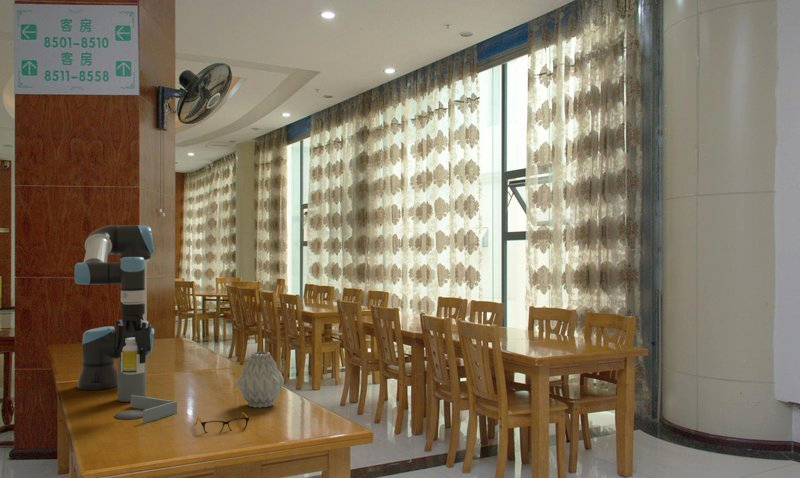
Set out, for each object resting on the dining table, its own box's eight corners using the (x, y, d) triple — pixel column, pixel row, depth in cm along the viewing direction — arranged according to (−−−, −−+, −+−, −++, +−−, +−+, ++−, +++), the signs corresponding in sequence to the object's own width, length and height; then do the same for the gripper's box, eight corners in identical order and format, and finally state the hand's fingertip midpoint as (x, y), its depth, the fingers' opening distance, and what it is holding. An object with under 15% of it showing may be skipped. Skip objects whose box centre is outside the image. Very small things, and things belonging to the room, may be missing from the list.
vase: (244, 413, 229) (244, 358, 229) (232, 402, 243) (232, 351, 243) (290, 407, 236) (290, 354, 236) (276, 398, 251) (276, 348, 251)
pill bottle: (135, 375, 222) (135, 340, 222) (118, 374, 224) (118, 339, 224) (147, 371, 229) (147, 337, 229) (129, 370, 230) (129, 336, 230)
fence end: (142, 422, 217) (142, 410, 217) (175, 412, 229) (175, 401, 229) (144, 423, 216) (144, 410, 216) (177, 413, 229) (177, 401, 229)
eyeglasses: (202, 435, 204) (202, 422, 204) (196, 423, 217) (196, 411, 217) (249, 430, 210) (249, 417, 210) (241, 419, 223) (241, 407, 223)
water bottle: (152, 397, 252) (152, 322, 252) (134, 403, 242) (134, 325, 242) (130, 395, 255) (130, 321, 255) (111, 401, 246) (111, 324, 246)
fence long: (130, 406, 237) (130, 395, 237) (132, 406, 238) (132, 395, 238) (170, 413, 229) (170, 401, 229) (172, 412, 230) (172, 400, 230)
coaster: (107, 417, 224) (107, 415, 224) (134, 409, 234) (134, 408, 234) (131, 421, 219) (131, 419, 219) (157, 413, 229) (157, 412, 229)
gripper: (103, 302, 227) (103, 371, 227) (145, 305, 219) (145, 376, 219) (121, 301, 234) (121, 367, 234) (162, 303, 225) (162, 372, 225)
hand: (132, 371), depth 226 cm, fingers closed on pill bottle, 6 cm apart
